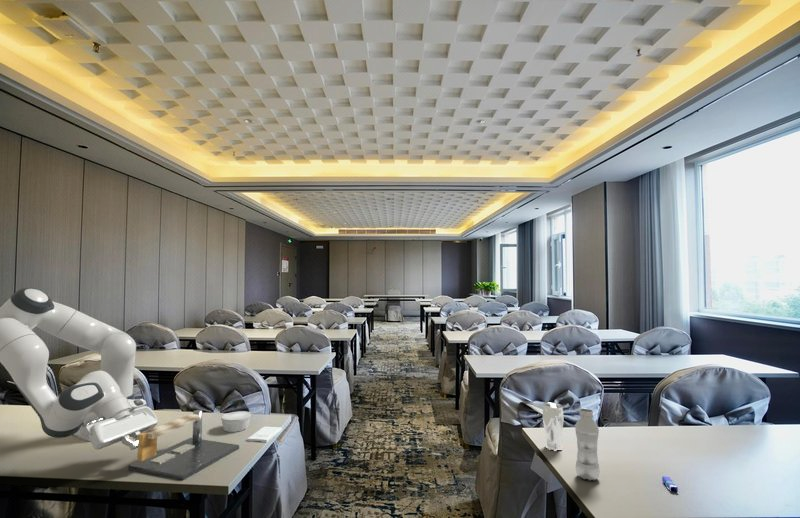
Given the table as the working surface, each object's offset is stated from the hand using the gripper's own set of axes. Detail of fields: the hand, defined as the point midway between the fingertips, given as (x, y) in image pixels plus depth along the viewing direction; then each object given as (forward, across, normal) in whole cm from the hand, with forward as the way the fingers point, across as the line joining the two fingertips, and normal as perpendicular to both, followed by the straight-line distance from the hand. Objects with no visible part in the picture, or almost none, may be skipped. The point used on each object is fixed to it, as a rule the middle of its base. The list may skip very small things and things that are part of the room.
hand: (137, 447), depth 128 cm
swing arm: (+6, +8, -2) cm, 10 cm away
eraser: (+116, +37, -107) cm, 163 cm away
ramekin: (+9, +38, 0) cm, 39 cm away
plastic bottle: (+101, +36, -92) cm, 141 cm away
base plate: (+12, +10, -3) cm, 16 cm away
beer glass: (+95, +56, -86) cm, 140 cm away
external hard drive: (+21, +35, -11) cm, 42 cm away
